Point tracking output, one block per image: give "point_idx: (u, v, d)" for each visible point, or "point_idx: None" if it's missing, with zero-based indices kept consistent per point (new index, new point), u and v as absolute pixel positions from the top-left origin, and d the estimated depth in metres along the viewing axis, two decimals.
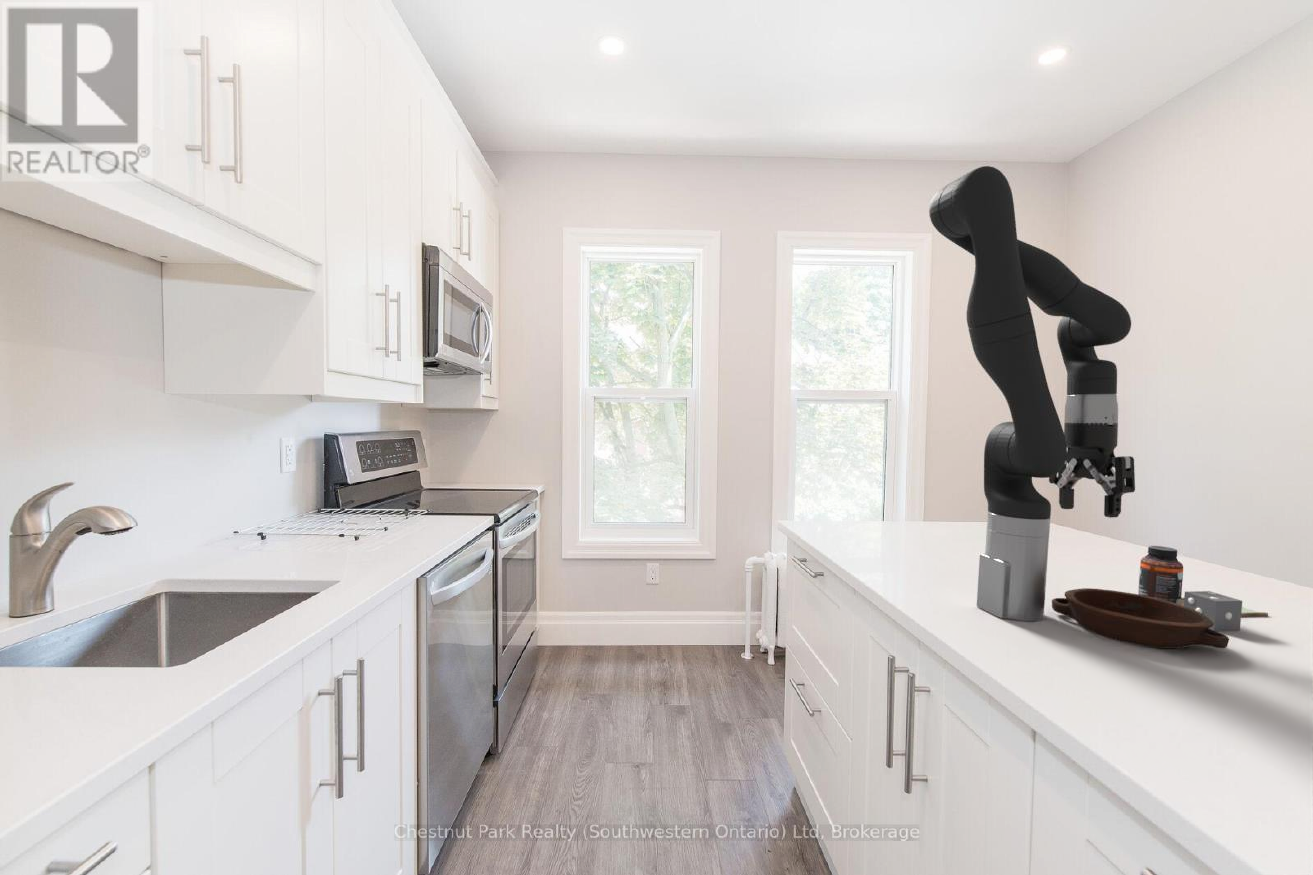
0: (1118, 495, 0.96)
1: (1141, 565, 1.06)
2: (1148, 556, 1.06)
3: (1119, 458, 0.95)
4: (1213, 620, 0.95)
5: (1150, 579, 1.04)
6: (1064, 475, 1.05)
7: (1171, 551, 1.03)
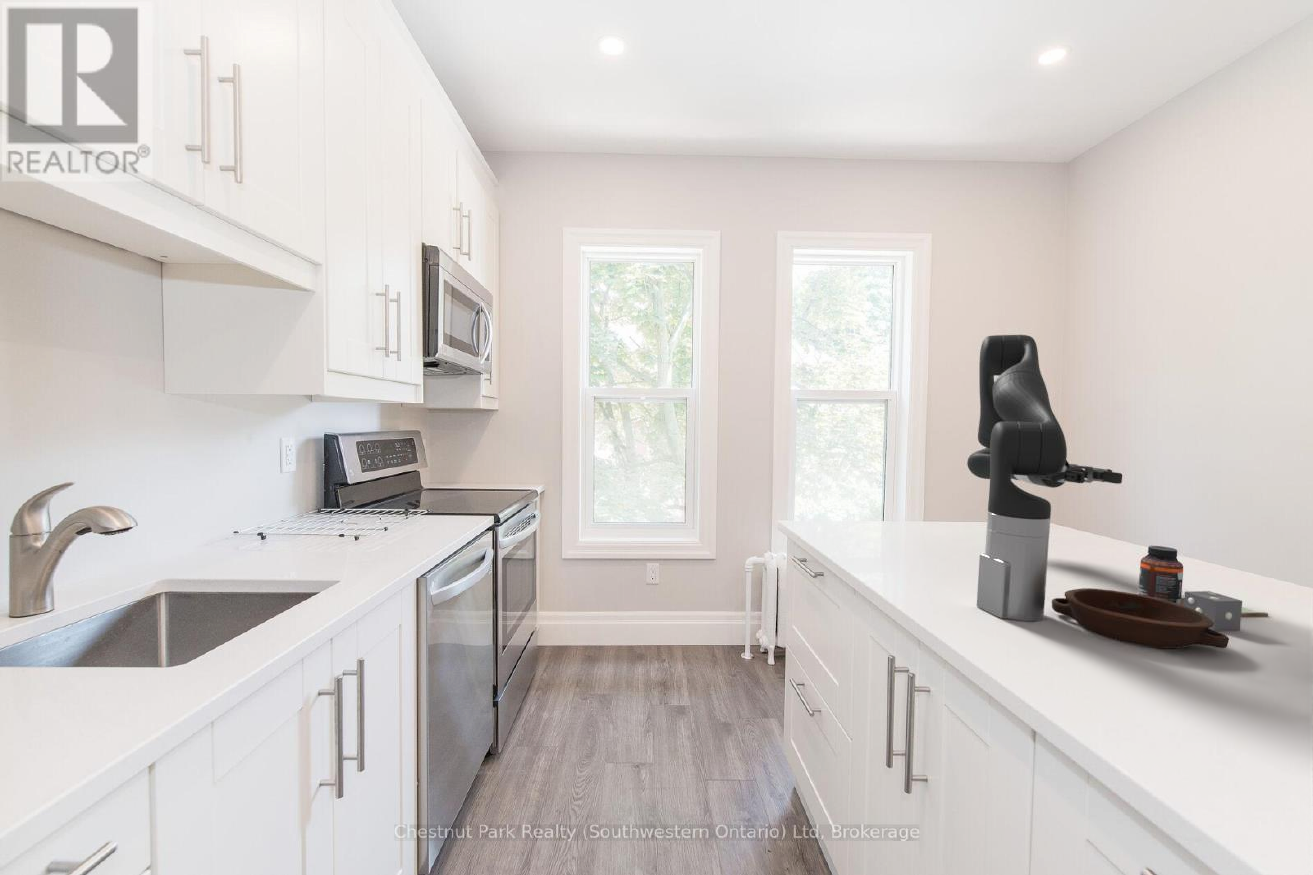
0: None
1: (1141, 565, 1.06)
2: (1148, 556, 1.06)
3: None
4: (1213, 620, 0.95)
5: (1150, 579, 1.04)
6: None
7: (1171, 551, 1.03)
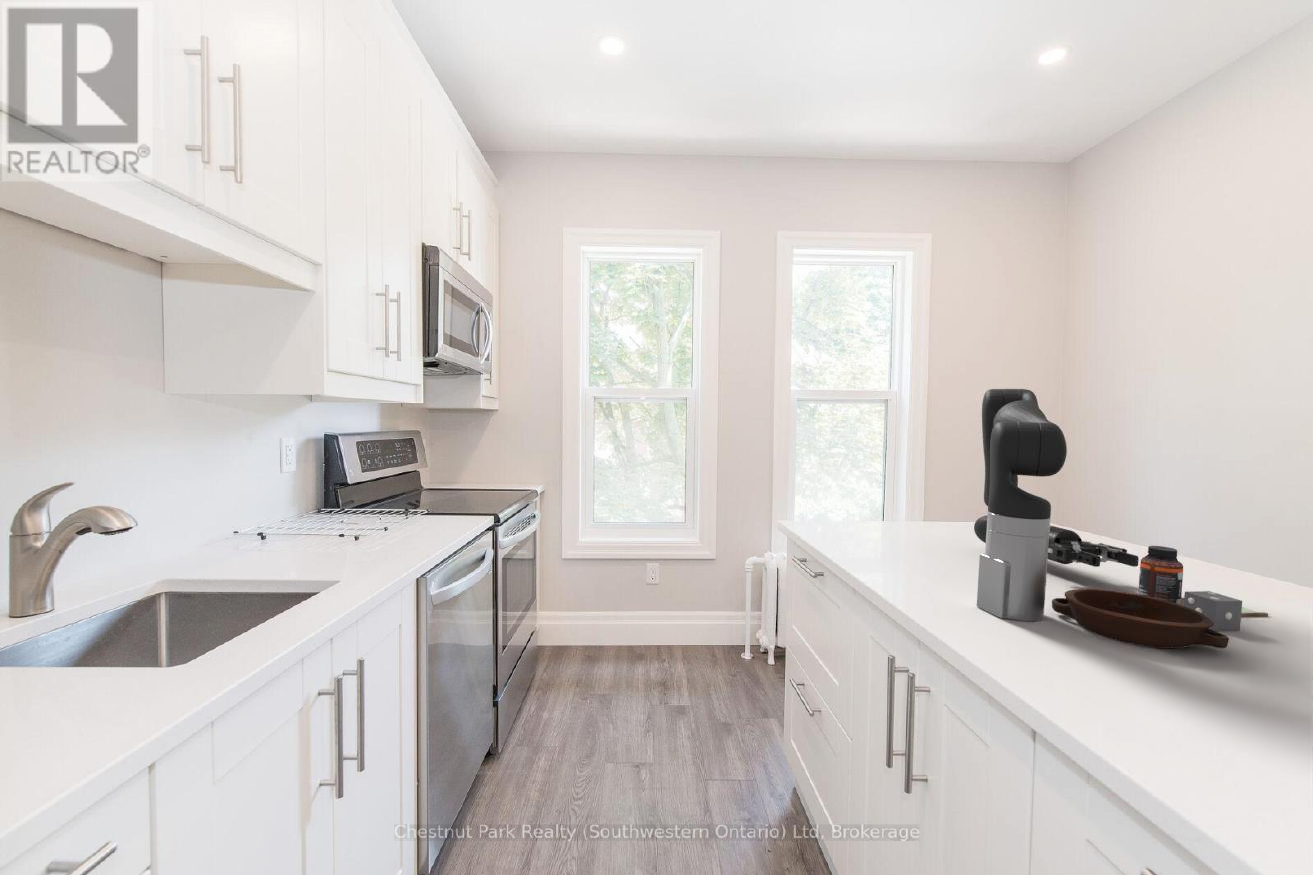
0: None
1: (1141, 565, 1.06)
2: (1148, 556, 1.06)
3: None
4: (1213, 620, 0.95)
5: (1150, 579, 1.04)
6: (1076, 545, 1.19)
7: (1171, 551, 1.03)
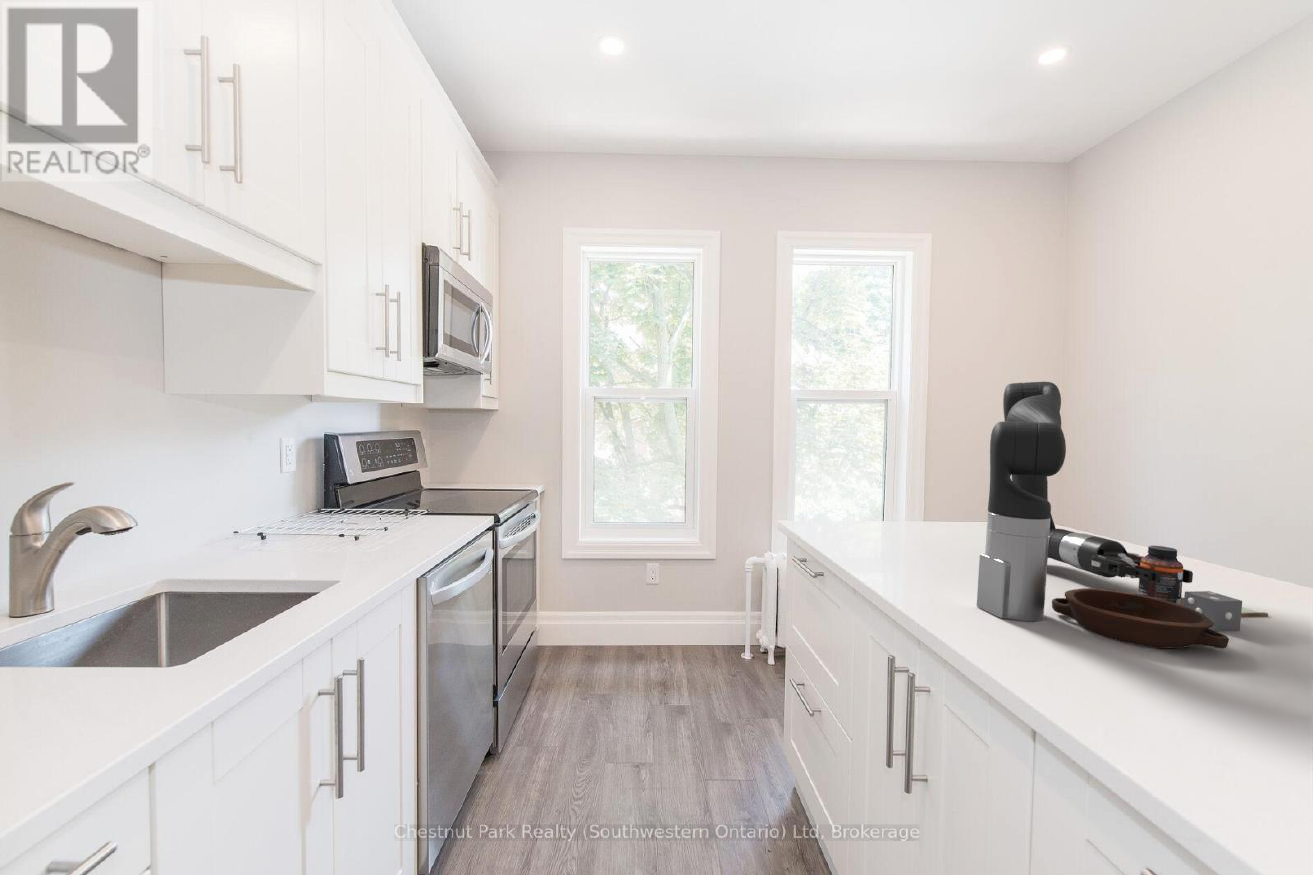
0: None
1: (1141, 565, 1.06)
2: (1148, 556, 1.06)
3: None
4: (1213, 620, 0.95)
5: None
6: (1127, 558, 1.09)
7: (1171, 551, 1.03)
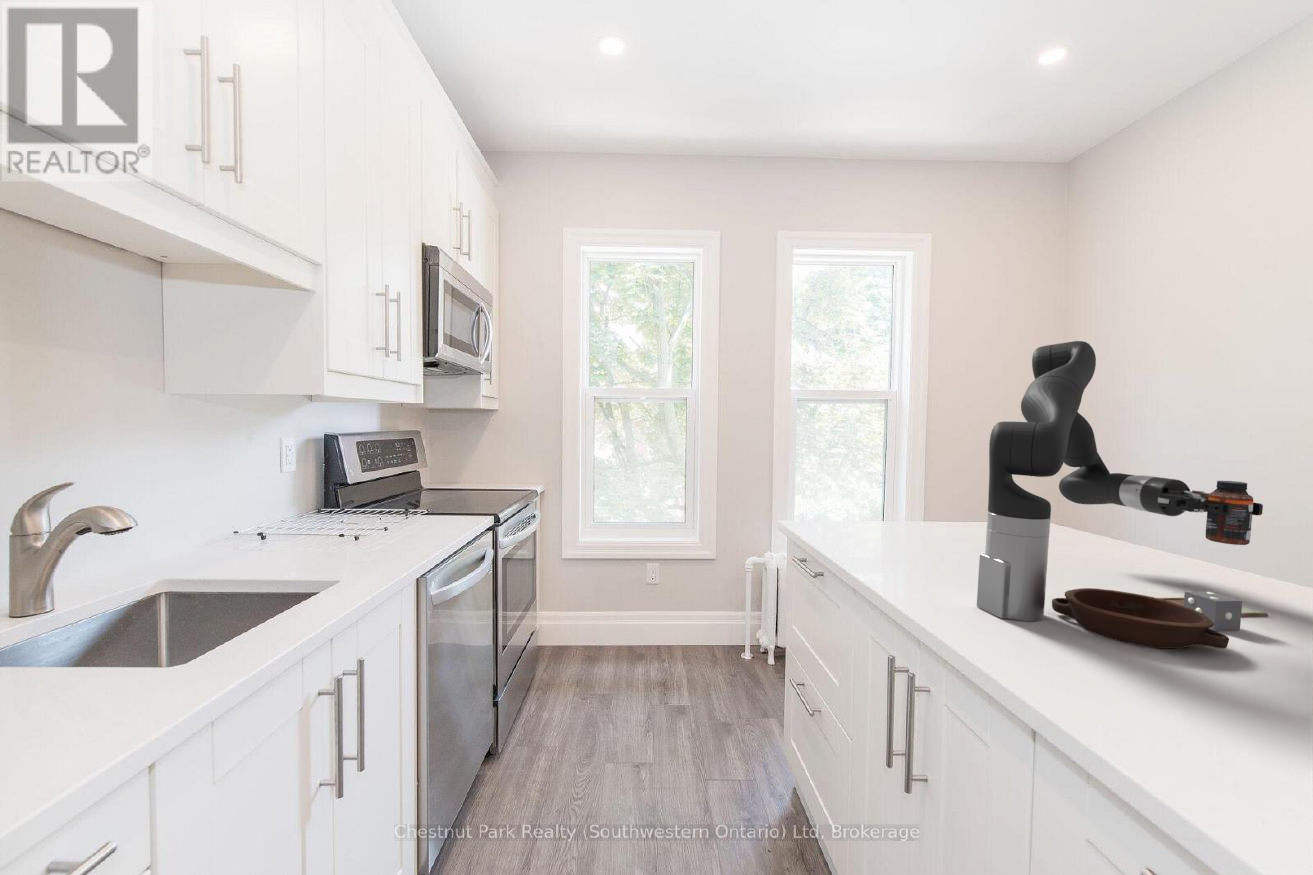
0: None
1: (1210, 499, 1.08)
2: (1217, 490, 1.08)
3: None
4: (1213, 620, 0.95)
5: None
6: (1195, 494, 1.10)
7: (1242, 484, 1.05)
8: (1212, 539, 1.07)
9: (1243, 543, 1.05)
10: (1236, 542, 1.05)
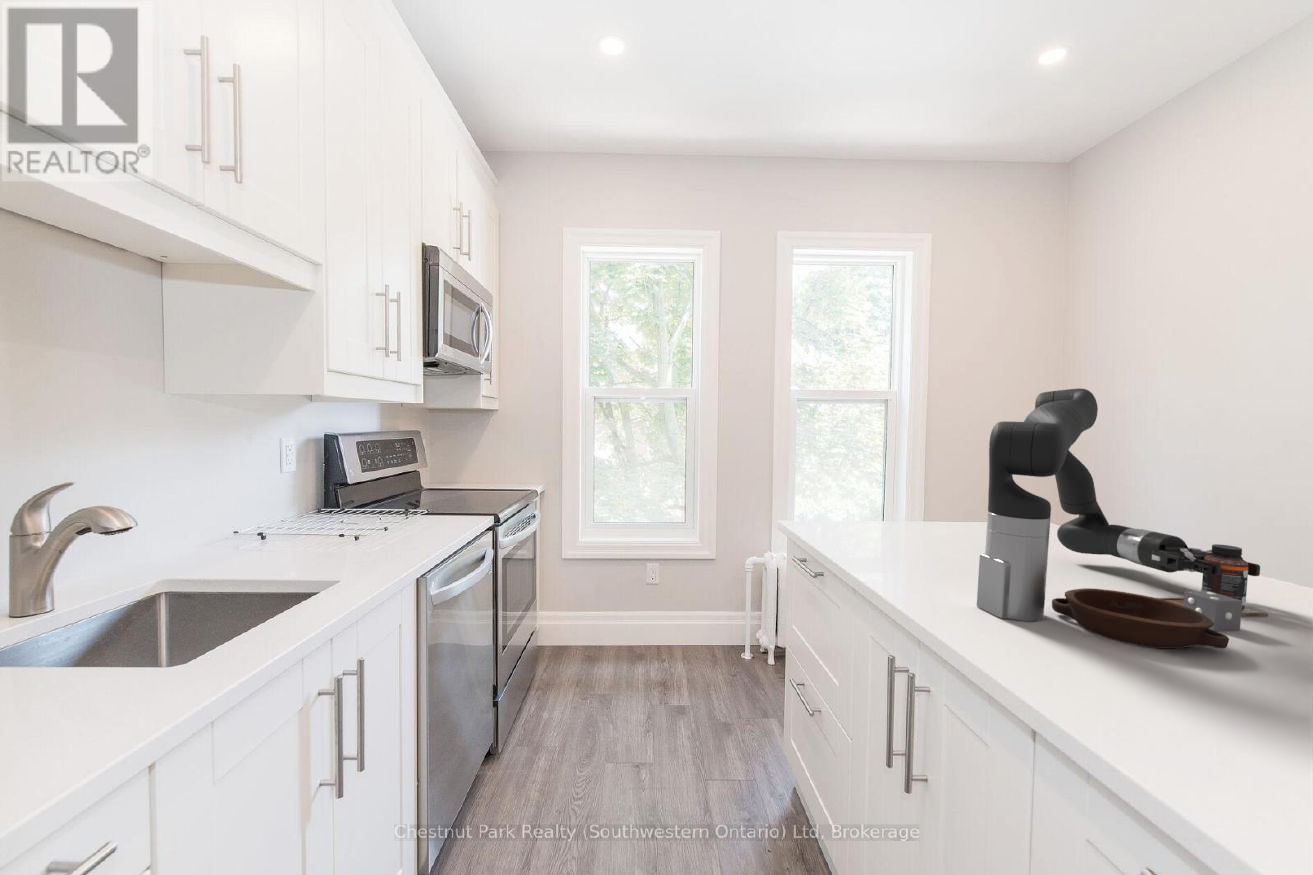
0: None
1: None
2: (1212, 554, 1.08)
3: None
4: (1213, 620, 0.95)
5: (1215, 577, 1.06)
6: (1187, 553, 1.11)
7: (1236, 549, 1.05)
8: None
9: None
10: None
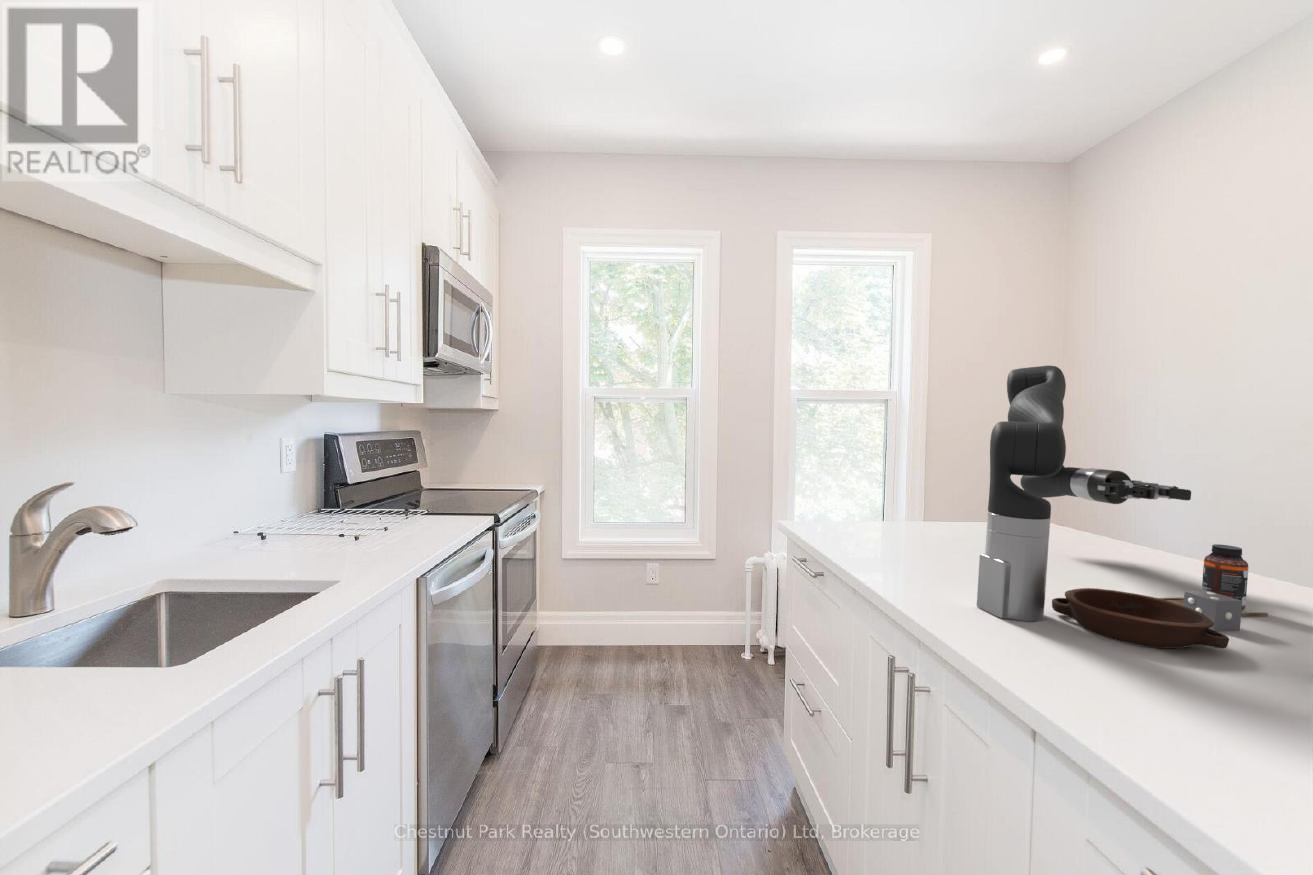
0: None
1: (1205, 563, 1.08)
2: (1212, 554, 1.08)
3: None
4: (1213, 620, 0.95)
5: (1215, 577, 1.06)
6: (1128, 482, 1.23)
7: (1236, 550, 1.05)
8: None
9: None
10: None
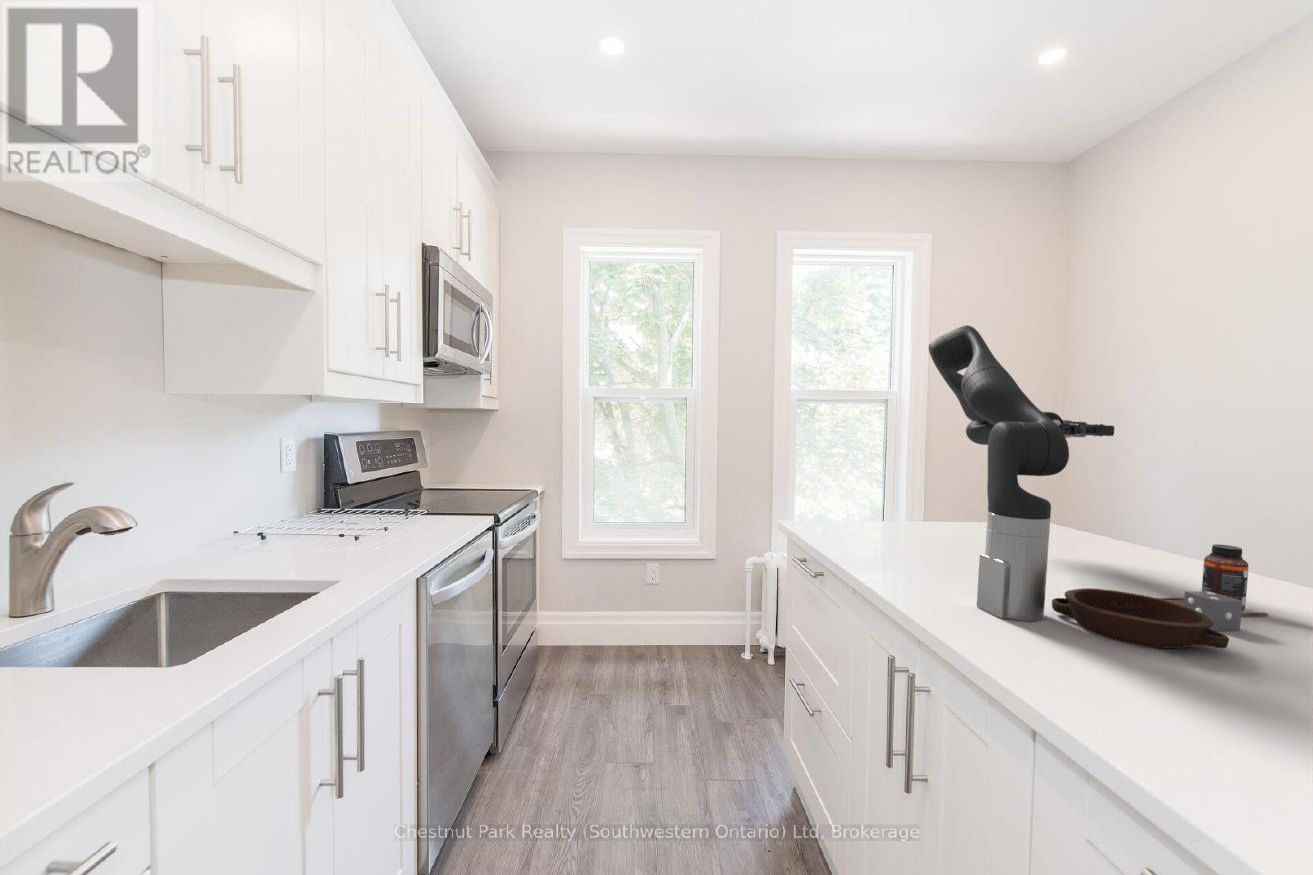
0: None
1: (1205, 563, 1.08)
2: (1212, 554, 1.08)
3: (1081, 424, 1.33)
4: (1213, 620, 0.95)
5: (1215, 577, 1.06)
6: (1056, 421, 1.28)
7: (1236, 549, 1.05)
8: None
9: None
10: None
